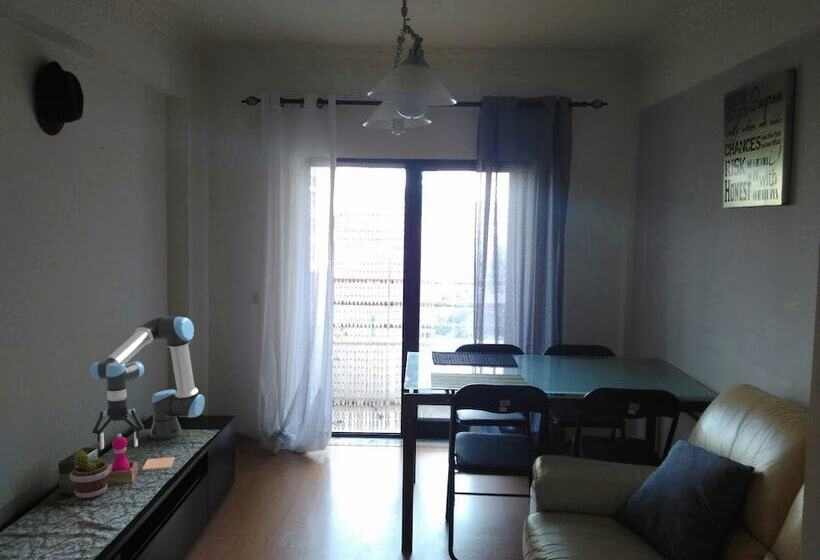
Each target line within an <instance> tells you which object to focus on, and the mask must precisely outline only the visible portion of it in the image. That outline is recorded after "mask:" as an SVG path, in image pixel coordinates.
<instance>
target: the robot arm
mask: <svg viewBox="0 0 820 560" xmlns="http://www.w3.org/2000/svg"><path fill="white" fill-rule="evenodd" d="M194 333H195V327H194V324H193V322H192V321H191V319H189V318H188V317H184V316H183V317H182V316H156V317H153V318H151V319H149V320H148V321H145V322H144V323H142V324H141V325H140V326H139V327H137V328H136V329H135V331H134V333H133V334H132V335H131V336H130V337H129V338H127V340H126V341H124V342H123V344H121V345H120V346H118V348H116V350H114V351H113V352H112V353H111V354H110V355H108V357H106V359H104V360H103V361H99V362H98V361H97V362H94V363H92V365H90V369H89V372H90V376H91V377H92V378H93V379H96V380H106V394H107V395H106V396H107V397H106V398H107V411H105V410H101V411H100V412H99V417H98V419H97V421H96V424H95V425H94V428H93V429H92V434H95V435H97V442H100V443H99V445H100V450H103V449H104V448H105V437H104V436H105V435H104V433H105V432H103V431H104V430H105V429H106V427H107V426H108V425H109V423H111V422H112V421H113V422H115V421H116V422H117V421H124V422H125V423H127V424H128V425H129V426H130V427H131V428H132V429H133V430H134V432H133V443H134V447H135V448H137V447H138V445H139V442H138V441H139V440H138V439H140V438H141V437H140V436H141V434H140V433H141V431H143V430H144V428H145V426H144V424H143V422H142V420H141V419H140V418H139V416H138V414H137V411H136V408H133V407H132V409H128V399H127V397H128V396H127V383H129V382H131V381H133V380H138V378H141V377H142V376H143V375H144V373H145V367H144V364H142V362H140V361H132V362H129V361H130V360H131V359H132V358H133V357H134V356H136V354H138V353H139V352H140V351H141V350H142V349H144V347H145V346H146V345H149V344H151V343H153V342H154V341H165V345H166V346H167V347H168V348H169V349H170V355H171V356H170V357H171V360H172V361H171V362H172V366H173V367H172V368H173V373H174V377H175V378H174V380H175V385H176V386H175V387H176V389H167V390H162V391H161V390H160V391H159V392H155V393H154V394H152V401H151V404H152V420H153V421H152V425H151V428H150V434H149V435H150V438H151V439H153V440H167V439H173V438H176V437H178V436H180V435H181V434H182V428H181V425H180V423H179V421H178V417H182V418H185V417H186V418H196V417H199V416H200V415H201V414H202V413H203V410H204V408H205V405H206V404H205V396H204V395H203V394H200V393H199V389H198V387H196V386H195V379H194V374H193V368H192V361H191V355H190V349H189V344H190V343H191V340H192V339H193V337H194V335H195V334H194ZM128 414H129V415H131V416H132V419H133V420H134V421H135V422H134V421H133V420H132V419H131V418H130V417H129V415H128ZM106 415H107V416H108V417H109V418H107V420H106V422H104V424H103V425H102V426H101V428H99V427H100V425H101V423H102V421H103V419H104V417H106Z"/></svg>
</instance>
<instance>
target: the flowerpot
mask: <svg viewBox="0 0 820 560" xmlns="http://www.w3.org/2000/svg"><path fill="white" fill-rule="evenodd" d="M89 457H90V456H89V454H88V452H87V451H84V449H80V448H79V447H78V449H76V452H75V454H73V457H72V458H73V459H72V462H74V463H73V466H75V467H76V466H77V467H76V468H75V467H74V468H72V471H71V472H70V473H69V477H68V479H70V481H71V482H72V483H73V486H74V488H75V489H74V495H75V496H76V497H77V498H78V499H79V498H80V500H82V499H87V500H93V499H94V498H95V497H97V498H99V496H100V497H101V495H102V496H103V495H105V492H106V491H108V490H107V489H108V486H109V484H107V483H106V482H107V477H108V474H109V473H110V469H111V468H110V466H109V465H110V464H108V463H107V462H106V461H103V459H102V458H101V457H98V456H94V458H93V459H92V460H91V461H89ZM92 498H93V499H92ZM95 499H96V498H95Z"/></svg>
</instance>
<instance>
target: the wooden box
mask: <svg viewBox="0 0 820 560" xmlns="http://www.w3.org/2000/svg"><path fill="white" fill-rule="evenodd" d="M128 462H129V465H130V470H127V471H115V472H112V466H113V463H110V464H108V465H109V466H110V468H111V469H110V473H109V474H108V477H107V482H106V483H107V484H108V485H116V484H117V485H118V484H126V483H127V484H128V483H133V482H134V480H135V478H136V476H137V475H138V471H139V469H138V461H128Z"/></svg>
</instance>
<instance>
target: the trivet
mask: <svg viewBox="0 0 820 560" xmlns="http://www.w3.org/2000/svg"><path fill="white" fill-rule="evenodd" d="M175 459H176V458H175V456H172V457H171V456H170V457H159V458H148V459H146V461H145V462H144V464H143V467H142V469H141V471H142V472H144V471H153V470H154V471H155V470H165V469H167V470H168V469H171V468H172V466H173V463H174V461H175Z"/></svg>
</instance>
